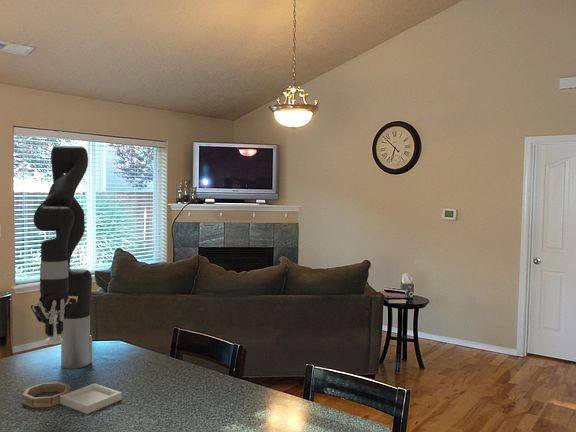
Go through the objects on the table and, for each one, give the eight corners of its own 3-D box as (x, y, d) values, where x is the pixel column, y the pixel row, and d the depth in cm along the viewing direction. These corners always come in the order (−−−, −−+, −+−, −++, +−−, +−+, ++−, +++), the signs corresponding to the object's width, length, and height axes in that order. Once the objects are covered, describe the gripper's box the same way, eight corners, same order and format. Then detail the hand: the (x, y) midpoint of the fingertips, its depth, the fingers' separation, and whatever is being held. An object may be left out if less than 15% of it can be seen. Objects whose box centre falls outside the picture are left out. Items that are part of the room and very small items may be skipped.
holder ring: (52, 387, 164) (52, 379, 164) (77, 396, 158) (77, 388, 158) (15, 400, 154) (15, 392, 154) (40, 410, 148) (40, 401, 148)
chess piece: (56, 345, 152) (56, 310, 151) (40, 343, 153) (41, 309, 152) (66, 340, 157) (67, 306, 156) (52, 338, 158) (52, 305, 157)
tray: (94, 390, 163) (94, 383, 163) (121, 399, 157) (121, 392, 157) (59, 403, 153) (59, 396, 153) (87, 414, 147) (87, 406, 147)
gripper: (67, 271, 161) (67, 327, 163) (23, 277, 150) (23, 338, 151) (83, 274, 157) (82, 332, 158) (39, 280, 146) (39, 343, 147)
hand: (54, 334), depth 155 cm, fingers closed on chess piece
